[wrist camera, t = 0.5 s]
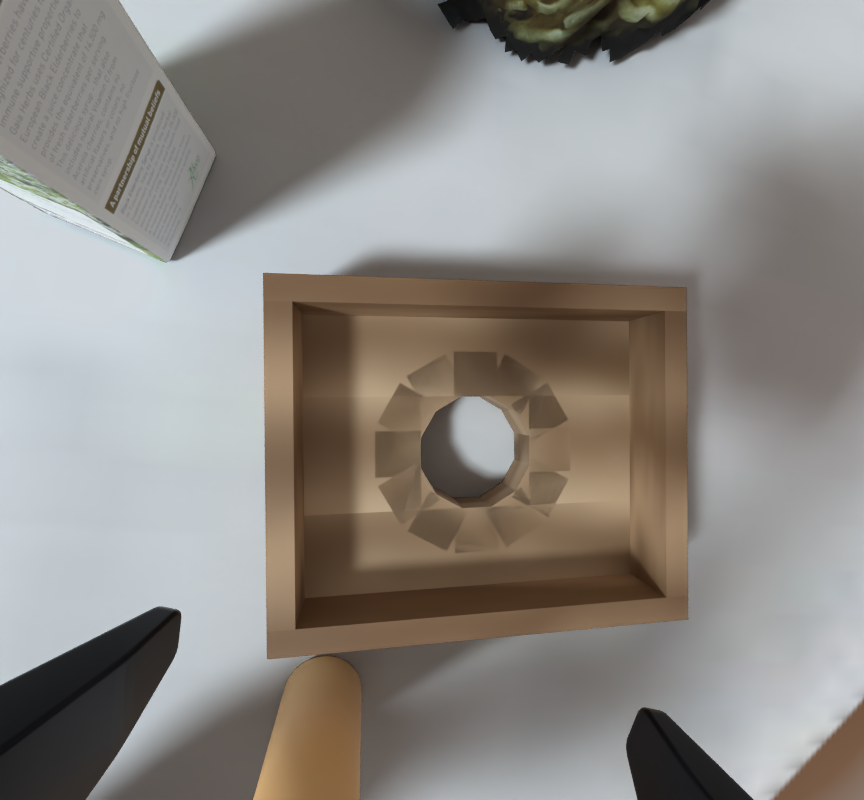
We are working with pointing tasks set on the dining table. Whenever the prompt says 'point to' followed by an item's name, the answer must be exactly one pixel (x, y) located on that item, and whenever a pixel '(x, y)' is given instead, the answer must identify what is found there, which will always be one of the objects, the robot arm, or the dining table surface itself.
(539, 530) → the crate
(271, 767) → the peg
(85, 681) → the robot arm
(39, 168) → the syrup box
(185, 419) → the dining table surface
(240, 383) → the dining table surface
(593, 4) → the lumpy green mound
